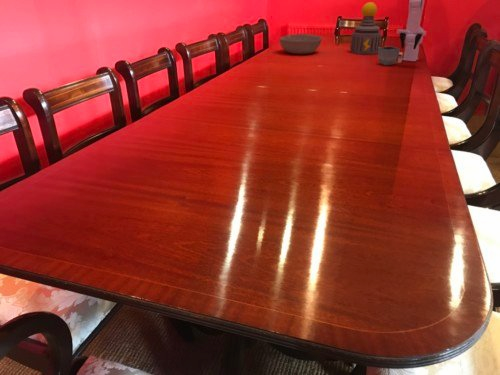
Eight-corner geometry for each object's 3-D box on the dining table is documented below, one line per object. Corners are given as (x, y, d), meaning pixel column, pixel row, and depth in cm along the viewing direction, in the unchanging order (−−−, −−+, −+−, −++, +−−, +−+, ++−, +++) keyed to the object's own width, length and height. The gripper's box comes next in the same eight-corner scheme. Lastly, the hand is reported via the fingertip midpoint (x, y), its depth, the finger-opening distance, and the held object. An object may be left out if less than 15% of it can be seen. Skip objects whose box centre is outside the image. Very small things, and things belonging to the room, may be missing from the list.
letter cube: (392, 60, 233) (393, 52, 231) (401, 61, 232) (402, 52, 229) (392, 62, 229) (393, 53, 226) (401, 62, 227) (402, 53, 225)
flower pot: (383, 66, 218) (386, 49, 214) (375, 63, 226) (377, 47, 222) (397, 65, 220) (400, 48, 216) (388, 62, 228) (391, 46, 224)
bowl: (299, 48, 278) (300, 33, 273) (329, 52, 259) (330, 36, 254) (270, 52, 262) (270, 36, 258) (300, 58, 244) (301, 41, 239)
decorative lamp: (381, 55, 249) (388, 3, 235) (350, 54, 252) (356, 3, 238) (377, 50, 266) (383, 1, 252) (348, 49, 268) (353, 1, 254)
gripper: (397, 21, 208) (392, 48, 214) (425, 22, 200) (420, 50, 207) (400, 20, 213) (396, 46, 219) (429, 21, 206) (423, 48, 212)
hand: (408, 48), depth 213 cm, fingers open, 6 cm apart
